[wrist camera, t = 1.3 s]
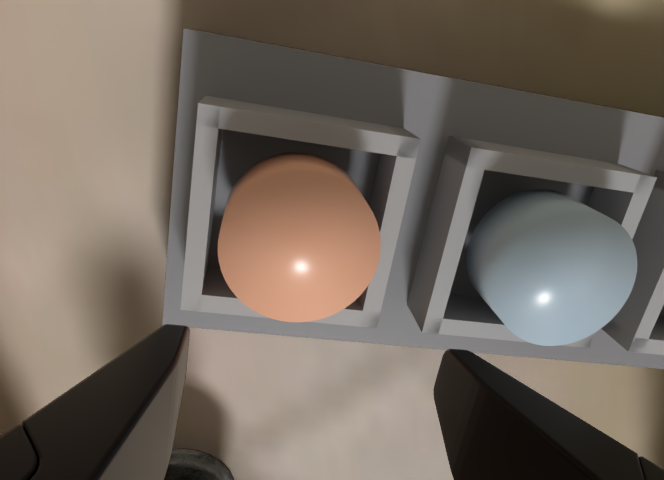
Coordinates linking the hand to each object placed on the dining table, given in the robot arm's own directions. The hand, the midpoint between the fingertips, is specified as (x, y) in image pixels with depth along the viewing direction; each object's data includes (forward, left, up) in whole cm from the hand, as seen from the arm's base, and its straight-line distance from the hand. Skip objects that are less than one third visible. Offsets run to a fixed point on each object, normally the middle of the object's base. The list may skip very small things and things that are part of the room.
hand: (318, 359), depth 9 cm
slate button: (-8, 0, -8) cm, 11 cm away
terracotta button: (0, 0, -8) cm, 8 cm away
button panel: (-8, 0, -12) cm, 14 cm away
